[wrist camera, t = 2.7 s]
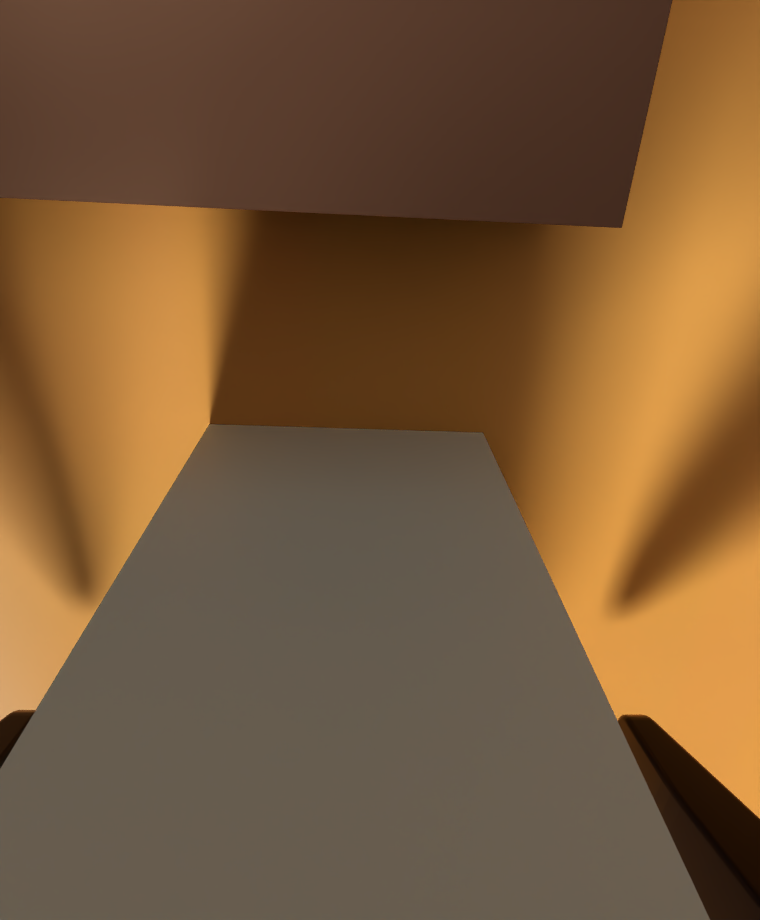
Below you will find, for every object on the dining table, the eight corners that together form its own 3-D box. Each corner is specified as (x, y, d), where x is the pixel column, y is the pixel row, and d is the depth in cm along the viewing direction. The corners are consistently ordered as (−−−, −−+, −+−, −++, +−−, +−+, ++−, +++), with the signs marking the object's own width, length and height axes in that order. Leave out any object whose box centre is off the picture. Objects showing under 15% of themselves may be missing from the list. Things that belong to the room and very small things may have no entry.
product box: (247, 802, 12) (129, 1449, 6) (210, 422, 8) (-267, 1208, 2) (438, 802, 12) (515, 1430, 6) (495, 431, 8) (876, 1168, 2)
